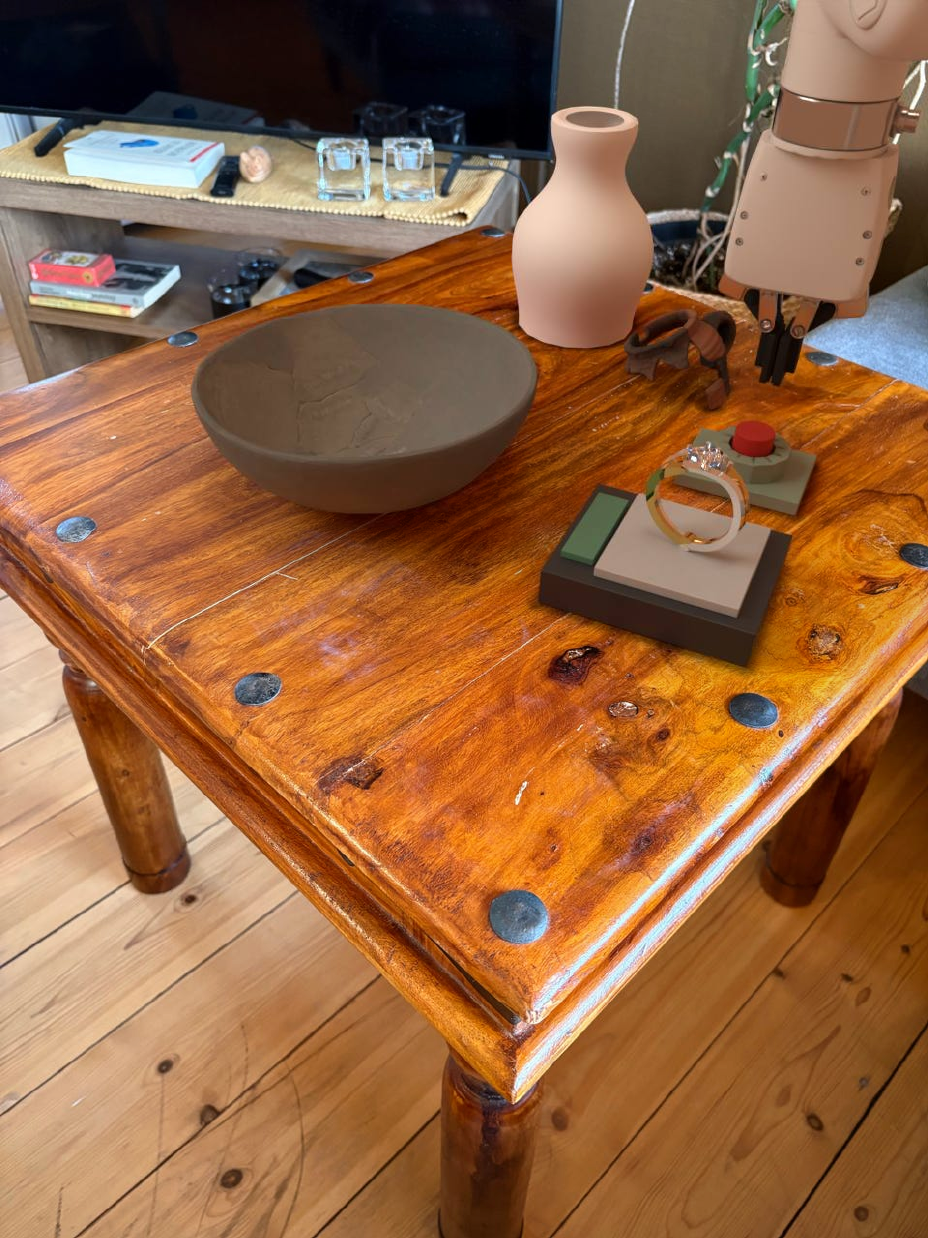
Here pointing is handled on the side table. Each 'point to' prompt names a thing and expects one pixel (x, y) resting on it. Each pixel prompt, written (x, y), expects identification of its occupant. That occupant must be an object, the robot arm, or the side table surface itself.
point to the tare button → (753, 439)
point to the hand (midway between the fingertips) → (772, 376)
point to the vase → (583, 236)
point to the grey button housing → (757, 472)
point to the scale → (665, 574)
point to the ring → (708, 465)
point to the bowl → (366, 403)
